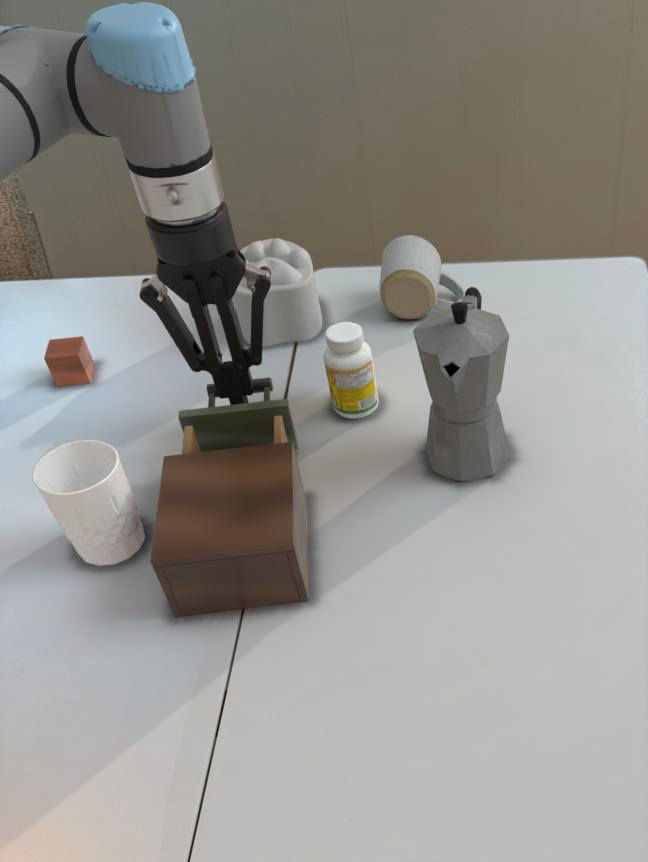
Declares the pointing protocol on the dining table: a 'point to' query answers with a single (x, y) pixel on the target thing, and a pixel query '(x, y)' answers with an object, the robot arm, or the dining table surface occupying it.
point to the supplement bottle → (350, 371)
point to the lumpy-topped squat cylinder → (281, 293)
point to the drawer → (238, 422)
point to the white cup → (91, 500)
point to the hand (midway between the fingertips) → (243, 418)
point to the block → (69, 361)
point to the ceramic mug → (414, 278)
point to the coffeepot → (464, 388)
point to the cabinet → (231, 530)
